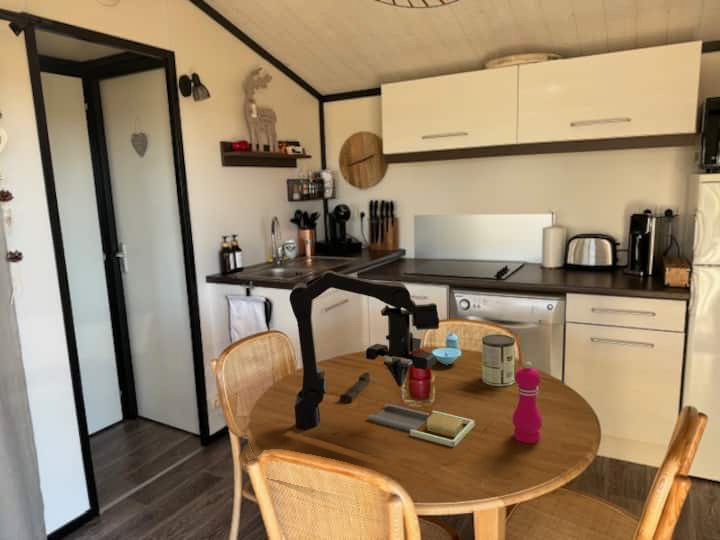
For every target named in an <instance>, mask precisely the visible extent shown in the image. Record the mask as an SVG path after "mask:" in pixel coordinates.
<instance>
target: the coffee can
mask: <svg viewBox="0 0 720 540" xmlns="http://www.w3.org/2000/svg"><path fill="white" fill-rule="evenodd" d="M515 342H516V340H515V337H513V336H510V335H507V334H488V335H483V337H482V338H481V343H482V344H481V350H482V351H481V353H482V356H481V357H482V358H481V359H482V364H481V365H482V371H481V372H482V374H481V375H482V379H481V381H482V382H483V383H484V384H486V385H488V386H493V387H507V386H511V385H513V384H514V383H515Z"/></svg>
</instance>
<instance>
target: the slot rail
mask: <svg viewBox="0 0 720 540" xmlns="http://www.w3.org/2000/svg"><path fill="white" fill-rule="evenodd" d="M430 416H431V413H429V412H425V411H422V410H418V409H412V408H407V407H404V406H400V405H396V404H392V403H387V402H385V404H383V409H381V410H380V411H379V412H377V413H376V414H371V413H370V414H369V415H368V416H367V417H368V420H367V421H369V422H371V423H377V424H380V425H383V426H386V427H391V428H395V429H397V430H402V431H406V432H409V433H410V430H411V429H412V430H416V431H418V429H419V428H420V427H421V426H423V425H424V424H425V423H427V419H428V418H429V417H430Z"/></svg>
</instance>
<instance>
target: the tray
mask: <svg viewBox="0 0 720 540" xmlns="http://www.w3.org/2000/svg"><path fill="white" fill-rule="evenodd" d="M431 413H432V414H433V413H436V414H440V415H445V416H449V417H453V418H457V419H461V420H462V425H465V427H464V428H462V431H461V432H460V433H459V434H458V435H457V436H456V437H453V439H449V438H445V437H441V436H437V435H434V434H430V433H427V432H423V431H420V430H419V431H418V430H412V429H411V430H410V432H409V435H410V436H411V437H415V438H418V439H422V440H427V441H430V442H434V443H438V444H441V445H444V446H445V445H446V446H448V447H452V448H454V447H456V446H457V445H458V444H459V442H461V440H463V438H465V436H466V435H467V434H468V433H469V432H470V431H471V430H472V428H473V427H475V425H476V424H475V423H476V422H475V419H470V418H468V417H467V418H466V417H461V416H457V415H453V414H449V413H445V412H440V411H436V410H432V411H431ZM432 414H431V415H432Z"/></svg>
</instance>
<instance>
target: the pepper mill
mask: <svg viewBox="0 0 720 540" xmlns="http://www.w3.org/2000/svg"><path fill="white" fill-rule="evenodd" d="M523 365H524V366H523V367H520V368H519V369H518V370H517V371H516V372H515V374H514V381H515V382H516V384H517V387H516V391H517V393H518V396H519V397H518V398H519V399H518V404H517V405H516V407H515V410H514V412H513V415H512V417H511V418H512V420H511V422H512V425H513V426H514V430H513V436H514V439H515V440H517V441H519V442H520V443H525V444H534V443H538V442H539V441H540V439H541V431H540V429H541V428H542V426H543V418H542V417H543V416H542V414H541V412H540V410H539V408H538V405H537V395H538V393H539V387H538V386H539V385H540V384H541V381H542V379H541V375H540V372H539V371H538V370H537V369H536V368H534V367H532V366H533V364H532V363H531V362H530V361H526V362H524V364H523Z"/></svg>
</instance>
